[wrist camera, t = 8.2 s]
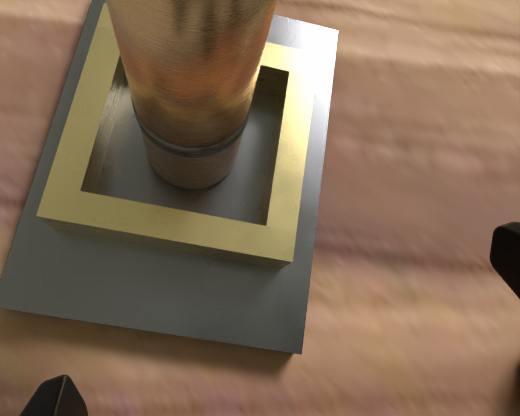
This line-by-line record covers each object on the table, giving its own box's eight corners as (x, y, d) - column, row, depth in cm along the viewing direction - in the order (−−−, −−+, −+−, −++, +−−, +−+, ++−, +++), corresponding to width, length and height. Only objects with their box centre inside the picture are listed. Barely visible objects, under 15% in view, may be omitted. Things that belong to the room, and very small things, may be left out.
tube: (245, 184, 18) (380, -182, 5) (150, 195, 18) (17, -204, 4) (232, 101, 19) (315, -388, 6) (141, 107, 19) (10, -435, 5)
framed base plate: (294, 352, 18) (315, 357, 15) (4, 308, 17) (-36, 304, 14) (330, 45, 23) (352, 2, 20) (106, -10, 21) (92, -66, 18)
